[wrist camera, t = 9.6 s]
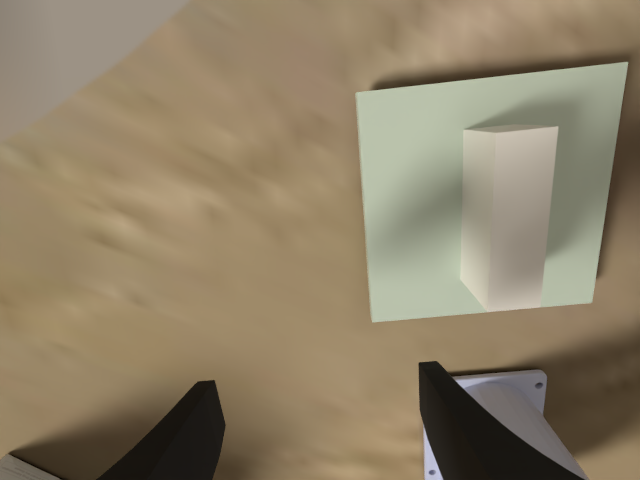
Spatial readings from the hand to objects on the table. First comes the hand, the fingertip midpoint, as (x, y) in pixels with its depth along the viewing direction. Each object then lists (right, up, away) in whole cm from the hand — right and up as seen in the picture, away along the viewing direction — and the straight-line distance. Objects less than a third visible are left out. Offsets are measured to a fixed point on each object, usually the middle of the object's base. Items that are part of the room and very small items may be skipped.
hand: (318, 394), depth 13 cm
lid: (+9, +7, +7) cm, 13 cm away
